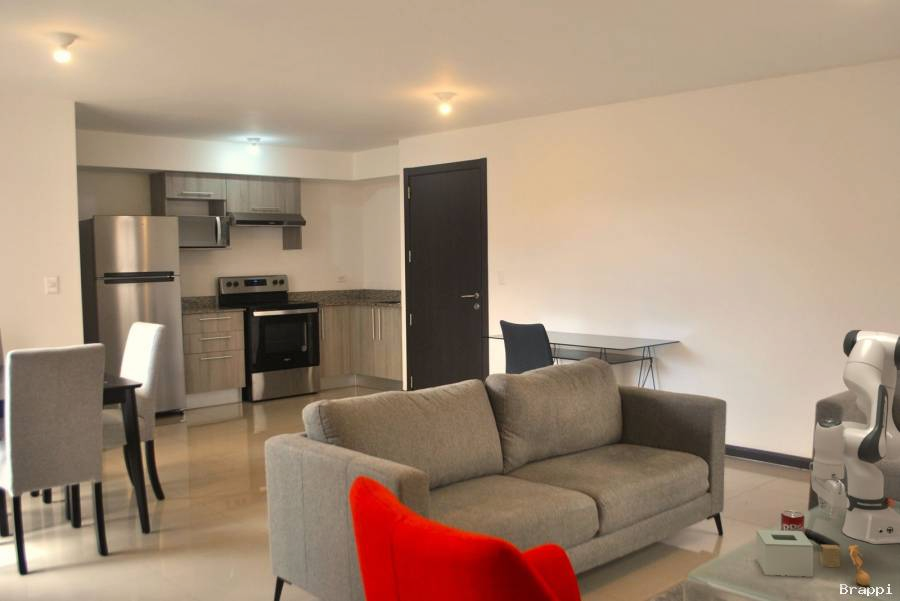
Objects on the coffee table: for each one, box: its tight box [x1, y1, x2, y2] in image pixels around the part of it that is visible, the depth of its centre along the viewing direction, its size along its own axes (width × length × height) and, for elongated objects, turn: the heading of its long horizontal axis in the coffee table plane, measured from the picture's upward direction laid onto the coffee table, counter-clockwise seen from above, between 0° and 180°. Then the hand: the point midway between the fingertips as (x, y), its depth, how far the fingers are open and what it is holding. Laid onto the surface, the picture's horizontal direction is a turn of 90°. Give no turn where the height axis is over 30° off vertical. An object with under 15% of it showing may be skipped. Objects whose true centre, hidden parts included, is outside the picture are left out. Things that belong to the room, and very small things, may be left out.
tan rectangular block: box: [819, 544, 841, 568], centre depth 252 cm, size 5×3×6 cm, turn 81°
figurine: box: [847, 544, 871, 587], centre depth 238 cm, size 8×6×12 cm
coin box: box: [756, 529, 814, 578], centre depth 251 cm, size 14×12×10 cm
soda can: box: [780, 509, 805, 534], centre depth 266 cm, size 7×7×12 cm
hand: (827, 513), depth 251 cm, fingers open, 8 cm apart
